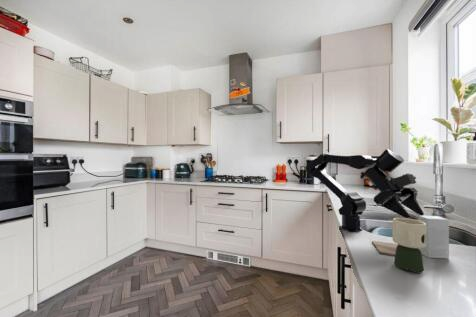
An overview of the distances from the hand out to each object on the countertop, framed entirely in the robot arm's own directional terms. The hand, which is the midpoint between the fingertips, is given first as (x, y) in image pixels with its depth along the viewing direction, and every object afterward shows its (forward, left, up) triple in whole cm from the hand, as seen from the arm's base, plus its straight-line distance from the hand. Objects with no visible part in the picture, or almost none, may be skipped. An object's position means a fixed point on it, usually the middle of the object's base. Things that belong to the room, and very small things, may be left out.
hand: (416, 216), depth 69 cm
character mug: (+7, -16, -11) cm, 21 cm away
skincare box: (+4, +1, -11) cm, 12 cm away
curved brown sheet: (-3, -8, -11) cm, 14 cm away
